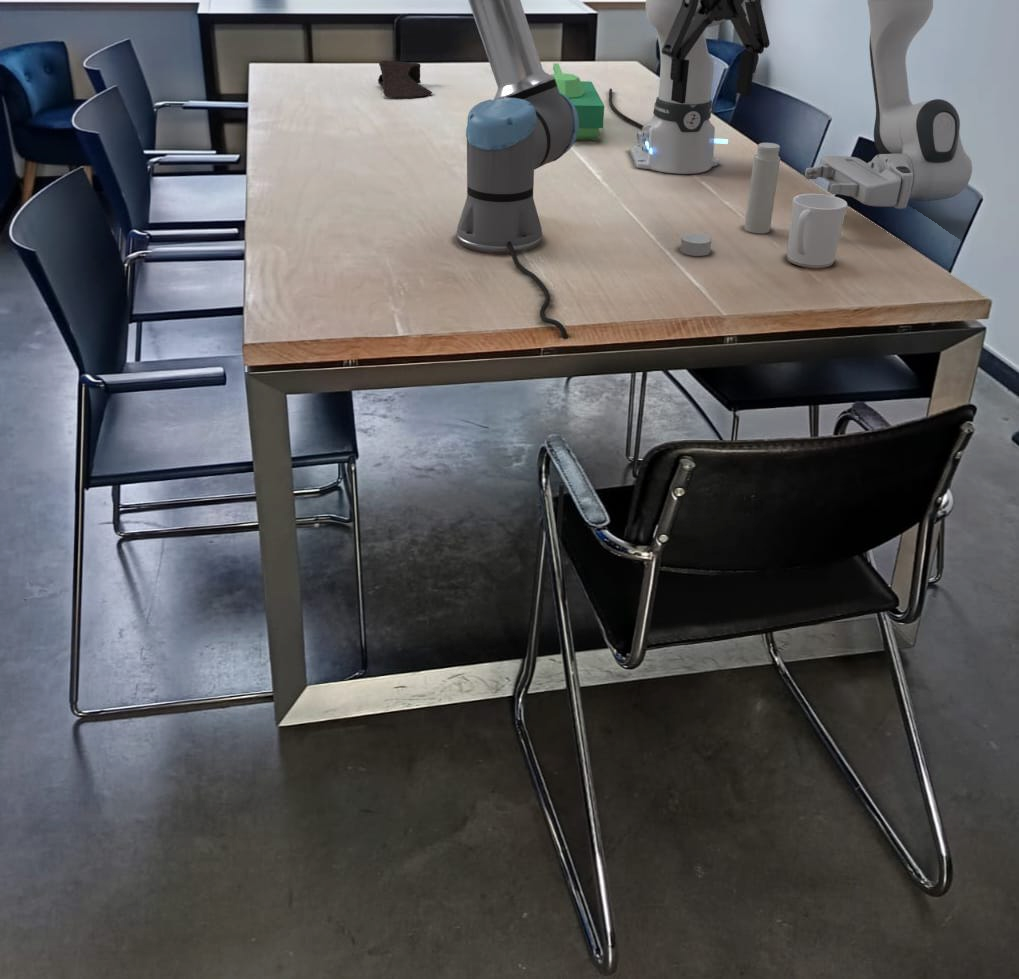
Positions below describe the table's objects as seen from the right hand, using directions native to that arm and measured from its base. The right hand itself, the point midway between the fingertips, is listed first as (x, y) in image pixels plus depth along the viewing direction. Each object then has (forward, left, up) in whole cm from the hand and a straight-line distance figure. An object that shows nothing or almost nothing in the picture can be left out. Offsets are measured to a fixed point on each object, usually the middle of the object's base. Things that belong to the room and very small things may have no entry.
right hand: (818, 180), depth 202 cm
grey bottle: (0, -11, -9) cm, 14 cm away
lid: (+10, -27, -7) cm, 29 cm away
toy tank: (-83, -28, -9) cm, 88 cm away
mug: (+19, -10, -9) cm, 23 cm away
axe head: (-127, -61, -9) cm, 141 cm away
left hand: (+10, -27, +17) cm, 34 cm away
